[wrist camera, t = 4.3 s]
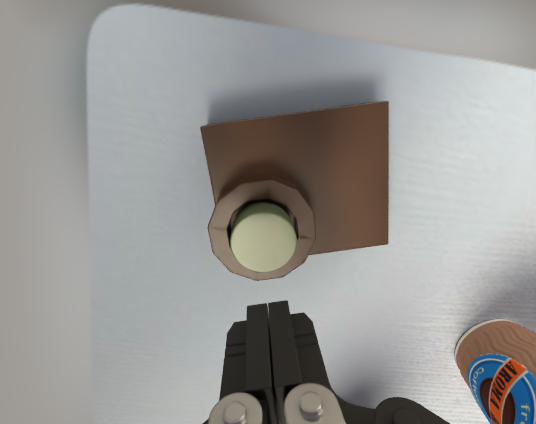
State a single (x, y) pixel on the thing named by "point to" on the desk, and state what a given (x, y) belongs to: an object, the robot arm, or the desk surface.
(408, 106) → the desk surface
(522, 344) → the coffee cup
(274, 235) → the green short cylinder
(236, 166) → the button housing
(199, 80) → the desk surface
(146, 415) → the desk surface
